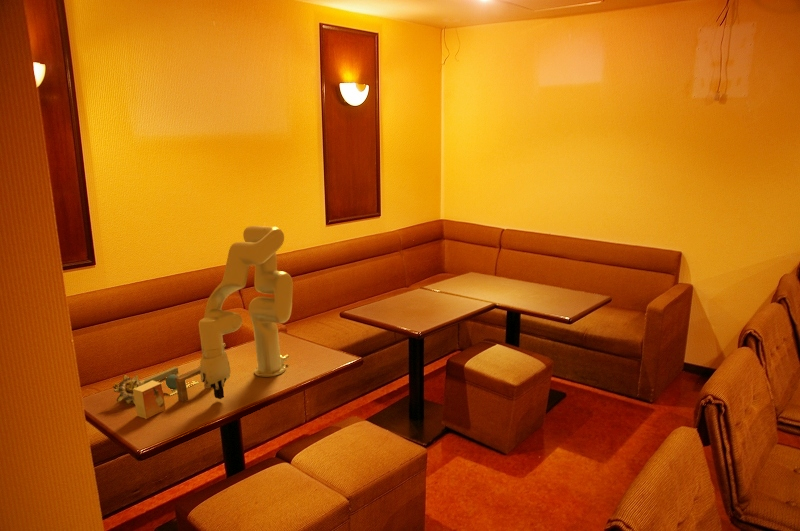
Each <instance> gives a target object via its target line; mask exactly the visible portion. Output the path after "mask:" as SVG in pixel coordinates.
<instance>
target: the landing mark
mask: <svg viewBox="0 0 800 531" xmlns="http://www.w3.org/2000/svg"><path fill="white" fill-rule="evenodd" d="M195 381H196V380H195ZM195 381H192V382H193V383H191V384H193V386H195V385H197V384H199V383H200V381H198V380H197V382H195ZM188 383H189V382H188ZM186 384H187V383H186ZM194 384H195V385H194ZM189 385H190V384H188V385H186V388H187V389H188V386H189ZM193 386H192V385H191V387H193ZM189 388H190V386H189ZM175 390H176V391H175ZM171 391H172V393H170V396H169V397H171V395H172V396H174V395H176V394H178V393H177V388H175V389H173V390H171ZM173 391H174V392H173ZM175 393H176V394H175ZM173 394H174V395H173Z"/></svg>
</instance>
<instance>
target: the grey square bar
mask: <svg viewBox="0 0 800 531" xmlns="http://www.w3.org/2000/svg"><path fill="white" fill-rule="evenodd" d="M176 373H178V374H179V368H178V367H177V366H173V367H171V368H169V369H166V370H164V371H161V372H158V373H157V374H154V375H152V376H149V377H148V378H145V379H143V380H144V381H145V382H144V383H145V384H146V383H148V382H150V381H152V380H153V381H156V382H157V381H159V380H162V379H164V378H166V377H168V376H170V375H172V374H176ZM176 375H177V374H176ZM166 379H167V378H166ZM164 380H165V379H164ZM162 381H163V380H162Z"/></svg>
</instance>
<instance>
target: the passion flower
mask: <svg viewBox="0 0 800 531" xmlns="http://www.w3.org/2000/svg"><path fill="white" fill-rule="evenodd" d="M144 382H145V381H144V379H143V380H142V379H141V380H139V375H135V376H133V378H131V377H129V376H128V375H126V374H125V375H123V377H122V380H121V382H116V383H114V385H112V388H113V389H114V390H113V392H115V393H118V394H119V396H117V398H116V402H121V401H122V400H124V402H125V403H126V405H129V404H130V403H132V404H133V405H135V400H134V394H133V389H134V388H137V387H139V386H141V385H143V384H145V383H144Z"/></svg>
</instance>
